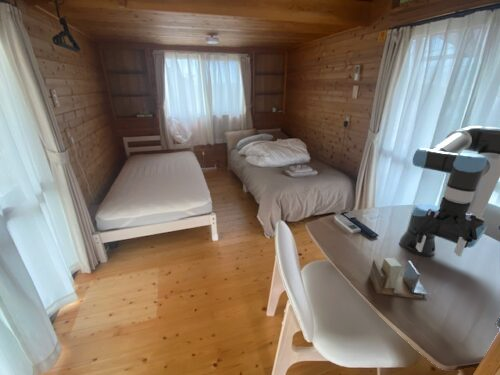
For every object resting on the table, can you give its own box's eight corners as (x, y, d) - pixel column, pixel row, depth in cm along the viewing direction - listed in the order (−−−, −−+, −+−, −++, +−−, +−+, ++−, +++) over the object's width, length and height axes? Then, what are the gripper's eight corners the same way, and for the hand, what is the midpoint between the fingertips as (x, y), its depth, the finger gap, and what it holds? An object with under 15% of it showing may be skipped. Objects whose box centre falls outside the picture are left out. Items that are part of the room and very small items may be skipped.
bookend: (417, 280, 99) (423, 262, 96) (427, 295, 92) (434, 276, 89) (402, 278, 100) (408, 260, 97) (411, 292, 93) (417, 274, 90)
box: (377, 279, 99) (383, 257, 96) (387, 279, 100) (393, 257, 96) (385, 289, 95) (391, 266, 91) (395, 288, 95) (402, 265, 91)
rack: (409, 280, 101) (415, 264, 98) (421, 299, 92) (427, 282, 89) (369, 275, 103) (373, 259, 100) (376, 292, 94) (381, 276, 91)
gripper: (489, 198, 83) (468, 250, 91) (412, 192, 87) (398, 242, 95) (506, 207, 76) (482, 262, 84) (422, 200, 80) (406, 253, 88)
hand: (437, 252), depth 89 cm, fingers open, 12 cm apart
